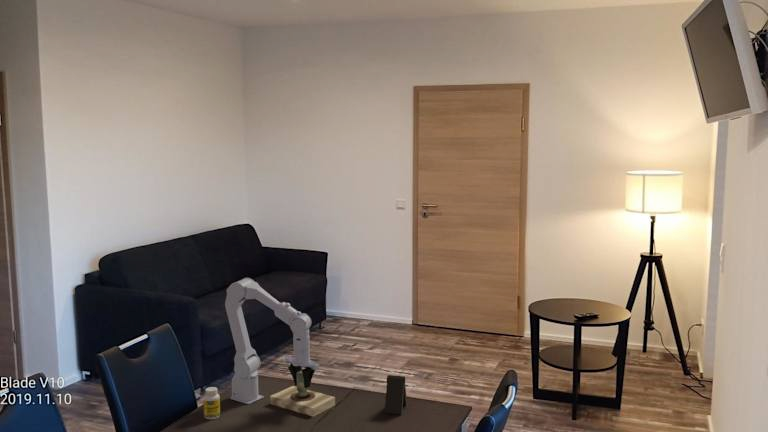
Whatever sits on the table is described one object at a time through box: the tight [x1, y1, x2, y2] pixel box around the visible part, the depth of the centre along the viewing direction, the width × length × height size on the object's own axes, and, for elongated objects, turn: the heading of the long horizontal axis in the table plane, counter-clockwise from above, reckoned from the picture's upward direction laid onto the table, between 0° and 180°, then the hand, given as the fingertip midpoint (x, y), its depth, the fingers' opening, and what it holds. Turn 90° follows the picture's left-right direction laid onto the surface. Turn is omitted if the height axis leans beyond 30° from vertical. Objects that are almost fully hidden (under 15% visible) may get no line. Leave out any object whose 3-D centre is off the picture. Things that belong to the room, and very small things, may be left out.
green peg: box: [296, 371, 309, 397], centre depth 238 cm, size 4×4×8 cm
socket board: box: [269, 385, 336, 418], centre depth 239 cm, size 20×12×3 cm, turn 56°
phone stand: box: [384, 374, 408, 416], centre depth 234 cm, size 9×6×12 cm, turn 165°
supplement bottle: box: [203, 386, 221, 420], centre depth 228 cm, size 5×5×10 cm
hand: (302, 386), depth 238 cm, fingers closed on green peg, 4 cm apart
